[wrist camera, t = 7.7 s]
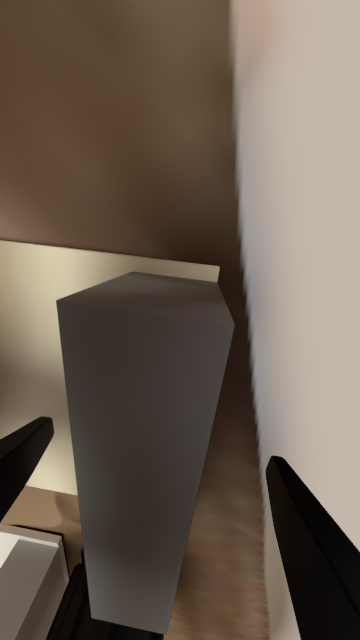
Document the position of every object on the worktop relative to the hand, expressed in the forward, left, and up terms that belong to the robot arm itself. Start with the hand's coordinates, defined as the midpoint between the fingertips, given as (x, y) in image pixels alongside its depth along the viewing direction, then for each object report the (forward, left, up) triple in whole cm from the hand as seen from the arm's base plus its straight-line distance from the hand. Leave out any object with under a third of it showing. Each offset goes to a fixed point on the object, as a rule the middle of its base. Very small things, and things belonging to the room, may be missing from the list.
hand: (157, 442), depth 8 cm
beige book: (+9, 0, -2) cm, 9 cm away
